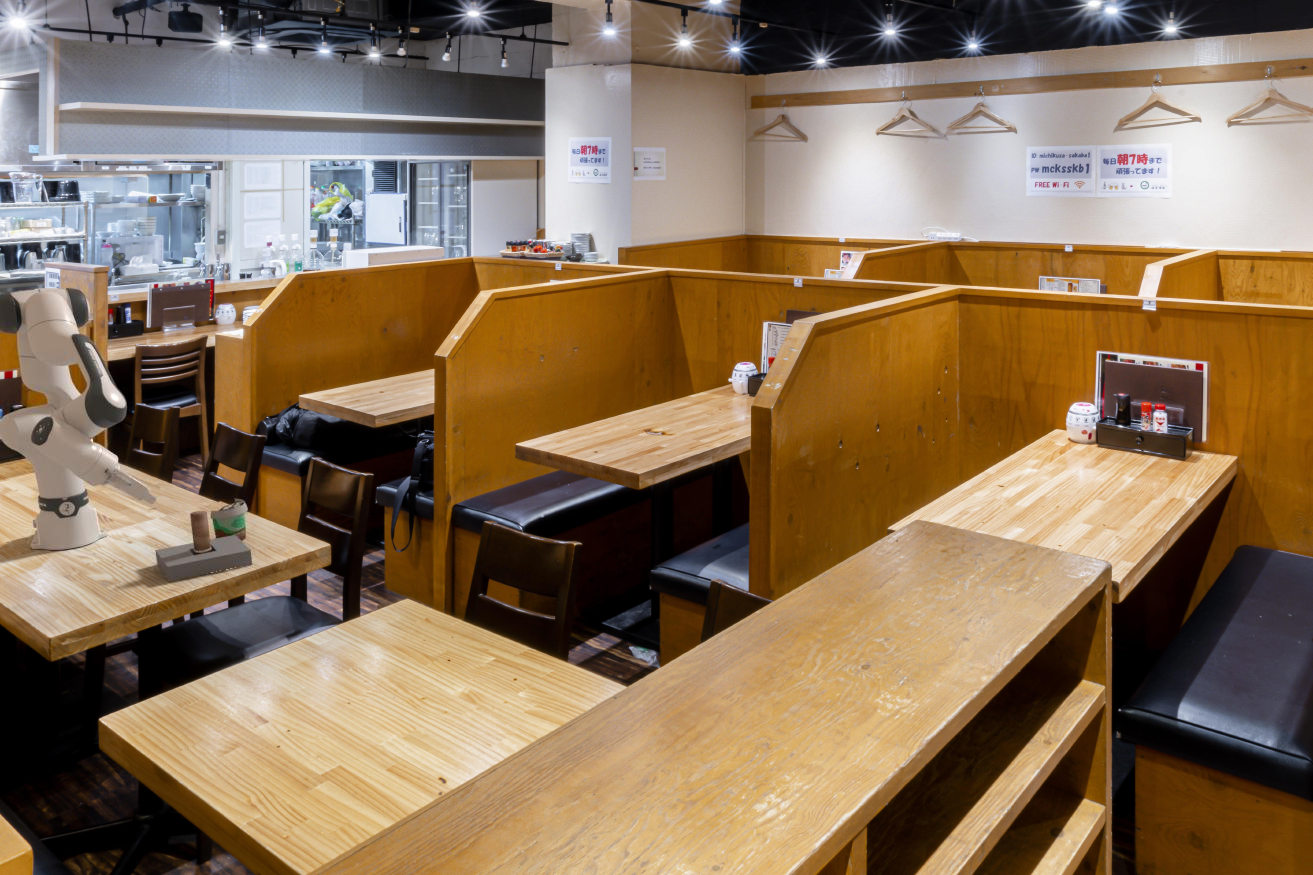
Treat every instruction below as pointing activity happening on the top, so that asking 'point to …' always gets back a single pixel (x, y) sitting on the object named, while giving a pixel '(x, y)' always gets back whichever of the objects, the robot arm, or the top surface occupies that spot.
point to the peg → (200, 532)
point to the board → (203, 558)
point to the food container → (230, 520)
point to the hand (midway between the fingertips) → (145, 497)
